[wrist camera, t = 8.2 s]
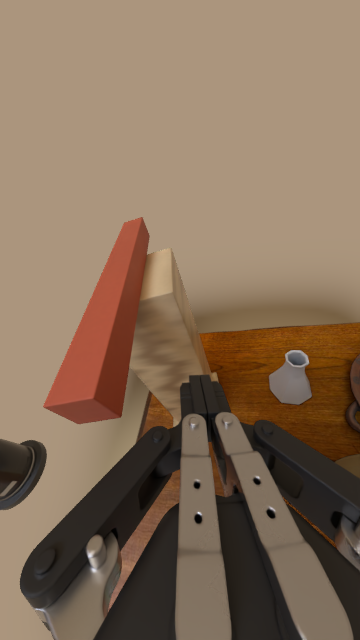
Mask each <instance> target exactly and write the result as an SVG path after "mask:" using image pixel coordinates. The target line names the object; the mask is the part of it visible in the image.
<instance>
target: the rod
mask: <svg viewBox="0 0 360 640" xmlns="http://www.w3.org/2000/svg"><path fill="white" fill-rule="evenodd" d="M148 243H149V233H148V231H147V228H146V226H145V223H144V221H143V218H142V217H141V218H138V219H135V220H131V221H128V222H125V223H124V224H123V227H122V229H121V231H120V234H119V236H118V238H117V240H116V243H115V245H114V247H113V249H112V252H111V254H110V256H109V258H108V261H107V263H106V265H105V268H104V270H103V272H102V274H101V277H100V279H99V281H98V283H97V286H96V288H95V290H94V292H93V295H92V297H91V299H90V301H89V304H88V306H87V308H86V311H85V313H84V315H83V317H82V320H81V322H80V324H79V326H78V329H77V331H76V333H75V336H74V338H73V340H72V342H71V345H70V347H69V349H68V351H67V354H66V356H65V358H64V361H63V363H62V365H61V367H60V370H59V372H58V374H57V376H56V379H55V381H54V383H53V385H52V388H51V390H50V392H49V394H48V397H47V399H46V401H45V403H44V406H43V407H44V408H46V409H48V410H50V411H52V412H54V413H56V414H58V415H60V416H62V417H65V418H67V419H69V420H71V421H73V422H75V423H77V424H83V423H89V422H96V421H102V420H108V419H115V418H120V417H121V416H122V410H123V403H124V396H125V390H126V384H127V377H128V371H129V365H130V358H131V352H132V346H133V339H134V333H135V326H136V320H137V313H138V307H139V301H140V294H141V288H142V281H143V275H144V269H145V262H146V256H147V249H148Z"/></svg>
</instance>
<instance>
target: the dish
mask: <svg viewBox="0 0 360 640" xmlns="http://www.w3.org/2000/svg"><path fill="white" fill-rule="evenodd" d="M350 381H351V388H352V392H353V394H354V396H355V398H356V400H355V401H354V402H353V403H352V404H351V405H350V406H349V408H348V409H347V411H346V419H347V421H348V423H349V425H350V426H351V427H352V428H353V429H354V430H356V431H358V432H359V433H360V424H359V423H358V422H357V421H356V419H355V413H356V412H357V411H360V354H359V355H358V356H357V358H356V359H355V360H354V362H353V364H352V367H351V372H350Z"/></svg>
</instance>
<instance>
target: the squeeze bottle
mask: <svg viewBox="0 0 360 640" xmlns="http://www.w3.org/2000/svg"><path fill="white" fill-rule="evenodd" d="M335 463H336V464H338V465H340V466H341V467H343V468H344V469H346V470H347V471H349V472H350V473H352V474H354V475H355V476H357V477H358V478H360V454H357V455H351V456H346V457H344V458H341V459H339V460H337V461H336V462H335Z"/></svg>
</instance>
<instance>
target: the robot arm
mask: <svg viewBox="0 0 360 640" xmlns="http://www.w3.org/2000/svg"><path fill="white" fill-rule="evenodd" d="M180 405H181V421H180V422H179V424H178V425H176V426H175V427H173V428H170V429H167V428H165V427H163V426H156V427H153V428H151V429H150V430H149V431H148V432H147V433H146V434H145V435H144V436H143V437H142V438H141V439H140V440H139V441H138V442H137V443H136V444H135V445H134V446H133V447H132V448H131V449H130V450H129V451H128V452H127V453H126V454H125V456H123V458H122V459H121V460H120V461H119V462H118V463H117V464H116V465H115V466H114V467H113V468H112V469H111V470H110V471H109V472H108V473H107V474H106V475H105V476H104V477H103V478H102V479H101V480H100V481H99V482H98V483H97V484H96V485H95V486H94V487H93V488H92V490H91V491H90V492H89V493H88V494H87V495H86V496H85V497H84V498H83V499H82V500H81V501H80V502H79V503H78V504H77V505H76V506H75V507H74V508H73V509H72V510H71V511H70V512H69V513H68V515H66V516H65V518H63V520H62V521H61V522H60V523H59V524H58V525H57V526H56V527H55V528H54V529H53V530H52V531H51V532H50V533H49V534H48V535H47V536H46V537H45V538H44V539H43V540H42V541H41V542H40V543H39V544H38V545H37V547H36V548H35V549H34V550H33V551H32V553H31V554H30V556H29V557H28V559H27V561H26V563H25V565H24V567H23V570H22V573H21V578H20V589H21V591H22V593H23V595H24V596H25V597H26V599H27V600H28V602H29V603H30V605H31V606H32V607H33V609H34V610H35V612H36V613H37V615H38V616H39V618H40V619H41V620H42V622H43V623H44V625H45V626H46V627H47V629H48V630H49V631H51V633H52V636H53V638H54V640H360V478H358V477H357V476H355V475H354V474H352V473H350V472H349V471H347V470H346V469H344V468H343V467H341V466H340V465H338V464H336V463H335V462H333V461H332V460H330V459H329V458H327V457H325V456H324V455H322V454H321V453H319V452H318V451H316V450H314V449H313V448H311V447H310V446H308V445H307V444H305V443H303V442H302V441H300V440H299V439H297V438H296V437H294V436H292V435H291V434H289V433H288V432H286V431H285V430H283V429H281V428H280V427H278V426H277V425H275V424H274V423H272V422H270V421H267V420H259V421H257V422H256V423H255V424H254V426H253V425H248V424H244V423H241V422H239V420H238V418H237V417H236V416H235V415H233V414H232V413H231V410H230V407H229V405H228V402H227V399H226V397H225V394H224V391H223V388H222V386H221V385H220V384H219V383H218V382H217V381H211V378H210V375H209V374H206V375H189V382H187V383H182V385H181V387H180ZM208 442H212V446H213V450H214V457H215V461H216V465H217V468H218V472H219V475H220V479H221V482H222V486H223V490H224V497H223V496H219V495H215V489H214V480H213V471H212V462H211V456H210V455H209V446H208ZM35 462H36V453H35V450H34V449H33V448H32V447H30V446H24V445H20V444H17V443H13V442H10V441H6V440H3V439H0V501H5V500H7V499H9V498H11V497H13V496H14V495H15V494H16V493H18V492H19V491H20V489H21V488H22V487H23V486H24V485H25V483H26V482H27V480H28V479H29V477H30V475H31V473H32V471H33V469H34V466H35ZM179 469H180V495H179V503H178V504H176V505H175V506H173V507H172V508H171V509H170V510H169V511H168V512H167V513H166V514H165V515H164V517H163V518H162V519H161V521H160V523H159V524H158V526H157V528H156V530H155V531H154V533H153V535H152V537H151V538H150V540H149V542H148V544H147V546H146V547H145V549H144V551H143V553H142V554H141V556H140V558H139V560H138V561H137V563H136V565H135V567H134V568H133V570H132V572H131V574H130V575H129V577H128V579H127V581H126V582H125V584H124V586H123V588H122V589H121V591H120V593H119V595H118V596H117V598H116V600H115V602H114V603H113V605H112V607H111V609H110V610H109V612H108V608H109V602H110V599H111V596H112V593H113V591H114V589H115V587H116V585H117V582H118V580H119V577H120V574H121V569H122V558H121V553H120V551H121V550H122V548H123V547H124V545H125V544H126V542H127V541H128V539H129V538H130V536H131V535H132V533H133V532H134V530H135V529H136V528H137V526H138V525H139V523H140V522H141V520H142V519H143V517H144V516H145V514H146V513H147V511H148V510H149V508H150V507H151V505H152V504H153V503H154V501H155V500H156V498H157V497H158V495H159V494H160V492H161V491H162V489H163V488H164V486H165V485H166V483H167V482H168V480H169V479H170V477H171V475H172V472H175V471H177V470H179ZM281 495H282V496H283V497H284V498H285V499H286V500H287V501H288V502H289V503H291V504H292V505H293V506H294V507H295V508H296V509H297V510H299V511H300V512H301V513H302V514H303V515H304V516H305V517H307V518H308V519H309V520H310V521H311V522H312V523H313V524H314V525H316V526H317V527H318V528H319V529H320V530H321V531H322V532H324V533H325V534H326V535H327V536H328V537H329V538H330V539H332V540H333V541H334V542H335V544H336V547H337V549H338V550H337V549H336V548H335V547H334V546H333V545H332V544H330V543H329V542H328V541H327V540H326V539H325V538H324V537H323V536H322V535H321V534H320V533H319V532H318V531H317V530H315V529H314V528H313V527H312V526H311V525H310V524H309V523H308V522H307V521H306V520H305V519H304V518H303V517H302V516H300V515H299V514H298V513H297V512H296V511H295V510H294V509H293V508H291V507H290V506H289V505H287V504H286V503H285V502H284V500H283V498H282V496H281Z"/></svg>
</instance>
